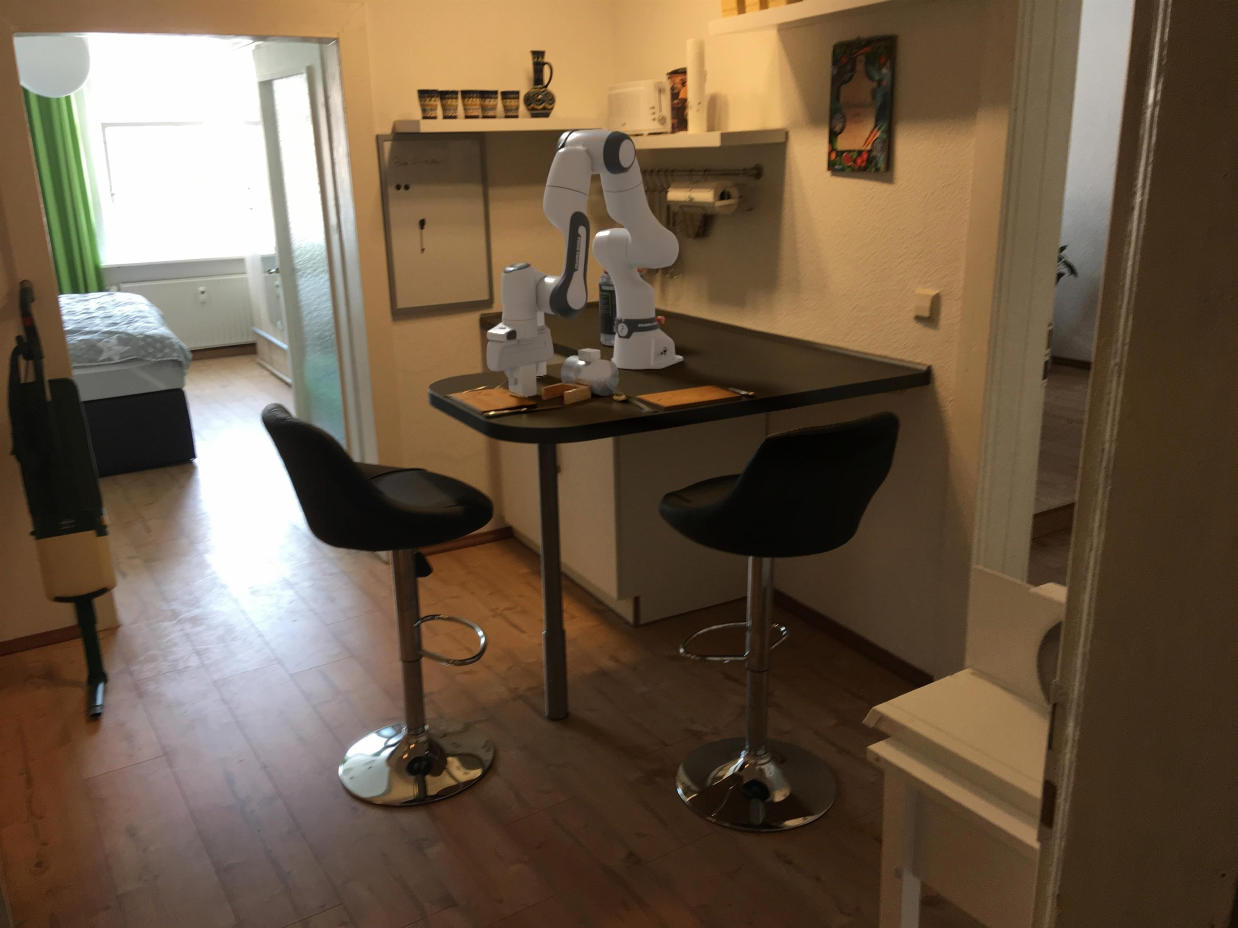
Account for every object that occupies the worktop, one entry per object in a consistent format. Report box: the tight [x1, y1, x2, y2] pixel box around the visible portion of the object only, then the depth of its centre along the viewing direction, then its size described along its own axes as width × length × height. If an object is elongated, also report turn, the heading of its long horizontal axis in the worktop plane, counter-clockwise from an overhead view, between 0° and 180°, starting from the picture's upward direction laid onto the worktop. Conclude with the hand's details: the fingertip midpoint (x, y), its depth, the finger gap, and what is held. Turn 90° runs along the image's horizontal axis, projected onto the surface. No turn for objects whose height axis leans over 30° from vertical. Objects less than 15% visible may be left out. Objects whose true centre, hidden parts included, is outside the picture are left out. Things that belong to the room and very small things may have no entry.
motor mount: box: [541, 347, 620, 405], centre depth 254 cm, size 18×12×11 cm
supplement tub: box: [598, 266, 648, 347], centre depth 324 cm, size 16×16×26 cm
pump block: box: [507, 364, 538, 398], centre depth 256 cm, size 5×5×8 cm
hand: (522, 383), depth 257 cm, fingers closed on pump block, 5 cm apart
